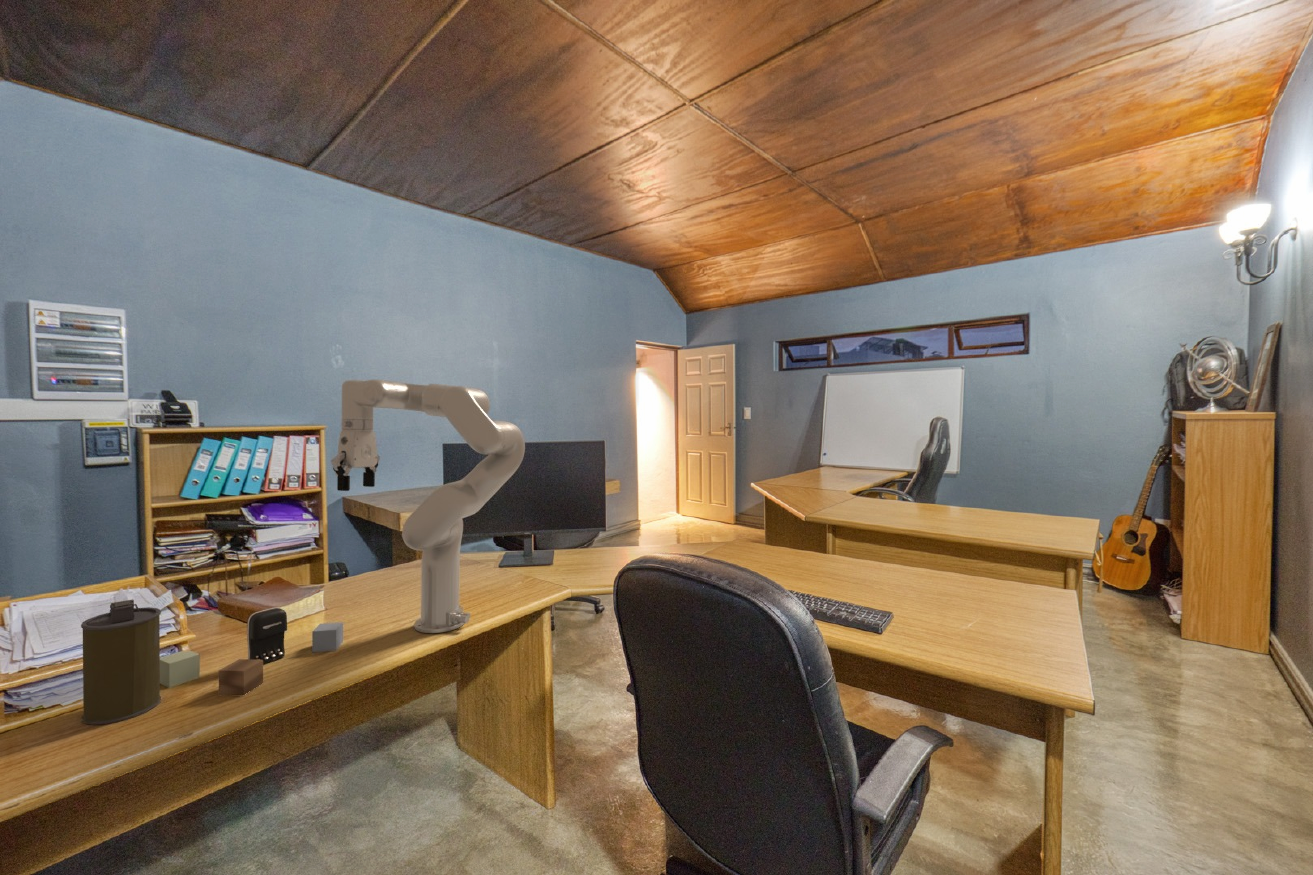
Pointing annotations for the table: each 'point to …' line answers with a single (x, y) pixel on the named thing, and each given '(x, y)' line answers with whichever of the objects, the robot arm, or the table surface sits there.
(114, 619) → the canister
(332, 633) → the slate cube
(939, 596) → the table surface
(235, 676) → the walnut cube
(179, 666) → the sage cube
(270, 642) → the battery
